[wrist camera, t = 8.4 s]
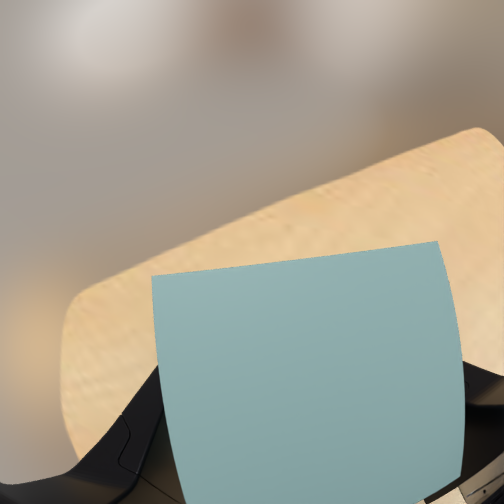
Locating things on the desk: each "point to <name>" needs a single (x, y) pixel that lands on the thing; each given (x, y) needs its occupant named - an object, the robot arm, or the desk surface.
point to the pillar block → (313, 379)
